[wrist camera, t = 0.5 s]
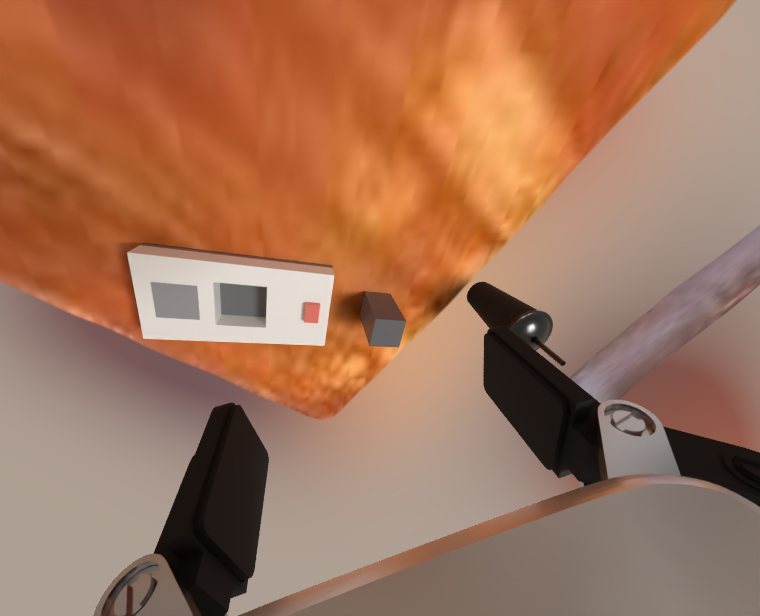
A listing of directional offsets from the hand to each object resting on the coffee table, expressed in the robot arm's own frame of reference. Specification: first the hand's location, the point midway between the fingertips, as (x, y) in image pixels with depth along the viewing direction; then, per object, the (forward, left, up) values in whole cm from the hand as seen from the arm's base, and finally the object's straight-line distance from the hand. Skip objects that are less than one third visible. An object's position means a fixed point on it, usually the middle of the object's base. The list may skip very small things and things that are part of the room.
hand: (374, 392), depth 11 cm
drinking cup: (+9, +29, -34) cm, 45 cm away
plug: (+13, +10, -34) cm, 38 cm away
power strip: (+13, -10, -34) cm, 38 cm away
